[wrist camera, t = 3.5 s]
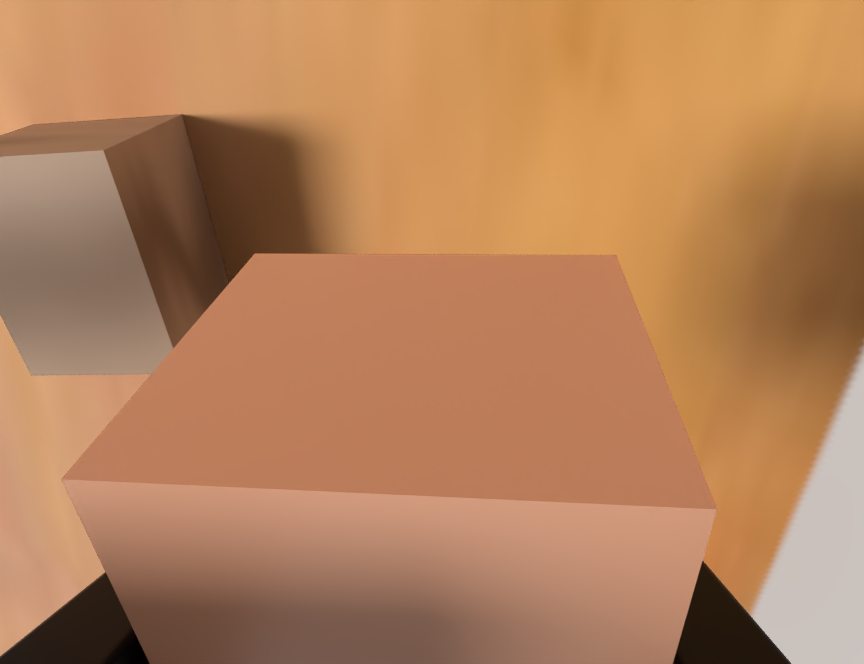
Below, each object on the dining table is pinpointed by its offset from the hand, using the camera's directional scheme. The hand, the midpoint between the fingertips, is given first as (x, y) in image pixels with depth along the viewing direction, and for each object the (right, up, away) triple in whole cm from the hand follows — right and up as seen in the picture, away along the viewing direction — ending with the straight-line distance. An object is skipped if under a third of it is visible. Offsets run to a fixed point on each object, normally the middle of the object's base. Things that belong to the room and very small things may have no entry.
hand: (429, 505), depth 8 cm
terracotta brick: (0, +1, +1) cm, 1 cm away
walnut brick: (-9, +6, +11) cm, 15 cm away
